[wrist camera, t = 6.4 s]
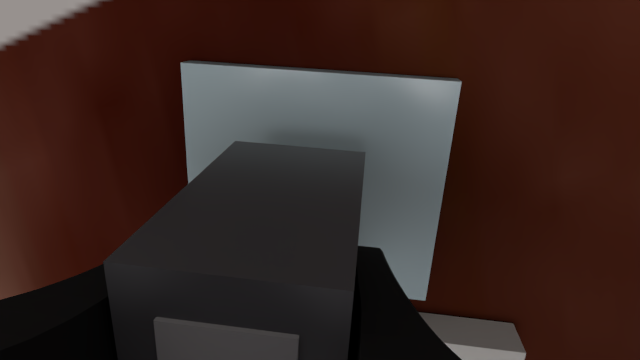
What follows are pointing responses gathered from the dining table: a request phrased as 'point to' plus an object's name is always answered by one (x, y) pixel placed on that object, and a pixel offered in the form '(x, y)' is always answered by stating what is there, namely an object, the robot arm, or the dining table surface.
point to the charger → (245, 261)
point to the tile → (340, 140)
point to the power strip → (477, 337)
